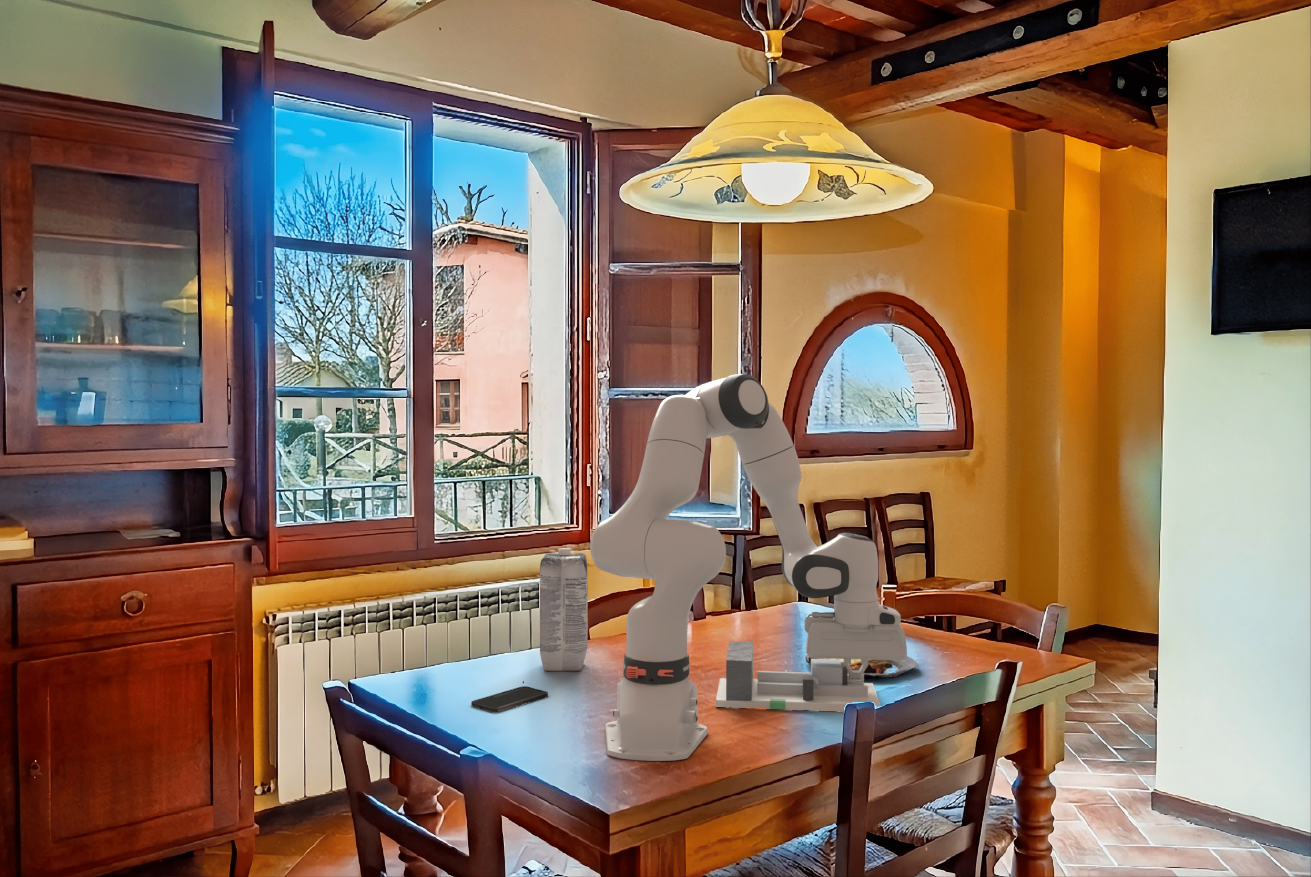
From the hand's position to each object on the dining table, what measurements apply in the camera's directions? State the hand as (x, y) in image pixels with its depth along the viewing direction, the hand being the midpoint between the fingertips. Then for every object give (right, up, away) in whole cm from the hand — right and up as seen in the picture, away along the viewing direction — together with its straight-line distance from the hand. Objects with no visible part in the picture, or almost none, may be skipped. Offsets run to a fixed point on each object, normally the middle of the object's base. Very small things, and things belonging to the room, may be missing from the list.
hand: (855, 680), depth 204 cm
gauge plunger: (-6, -2, -2) cm, 6 cm away
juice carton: (-62, -3, +23) cm, 66 cm away
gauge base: (-12, -4, -1) cm, 13 cm away
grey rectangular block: (-24, -2, 0) cm, 24 cm away
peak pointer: (-11, -2, -7) cm, 13 cm away
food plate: (+6, -3, +23) cm, 24 cm away
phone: (-70, -4, -3) cm, 70 cm away
